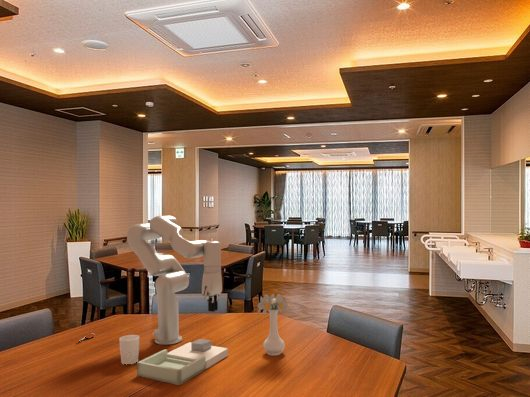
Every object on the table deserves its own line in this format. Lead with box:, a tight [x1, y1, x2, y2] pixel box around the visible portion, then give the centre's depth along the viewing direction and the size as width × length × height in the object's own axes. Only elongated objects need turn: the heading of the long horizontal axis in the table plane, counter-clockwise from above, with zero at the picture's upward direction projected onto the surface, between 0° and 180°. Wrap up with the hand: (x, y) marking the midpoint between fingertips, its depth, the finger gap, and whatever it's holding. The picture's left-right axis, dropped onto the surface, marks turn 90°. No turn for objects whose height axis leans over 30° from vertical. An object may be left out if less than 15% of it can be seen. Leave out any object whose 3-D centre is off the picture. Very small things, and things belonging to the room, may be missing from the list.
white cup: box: [118, 334, 140, 366], centre depth 174 cm, size 8×8×10 cm
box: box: [136, 349, 207, 386], centre depth 163 cm, size 20×16×5 cm
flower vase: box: [257, 293, 288, 357], centre depth 183 cm, size 13×18×25 cm
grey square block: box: [191, 338, 212, 352], centre depth 180 cm, size 6×6×3 cm
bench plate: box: [167, 341, 229, 370], centre depth 177 cm, size 20×16×3 cm
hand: (212, 310), depth 188 cm, fingers closed
